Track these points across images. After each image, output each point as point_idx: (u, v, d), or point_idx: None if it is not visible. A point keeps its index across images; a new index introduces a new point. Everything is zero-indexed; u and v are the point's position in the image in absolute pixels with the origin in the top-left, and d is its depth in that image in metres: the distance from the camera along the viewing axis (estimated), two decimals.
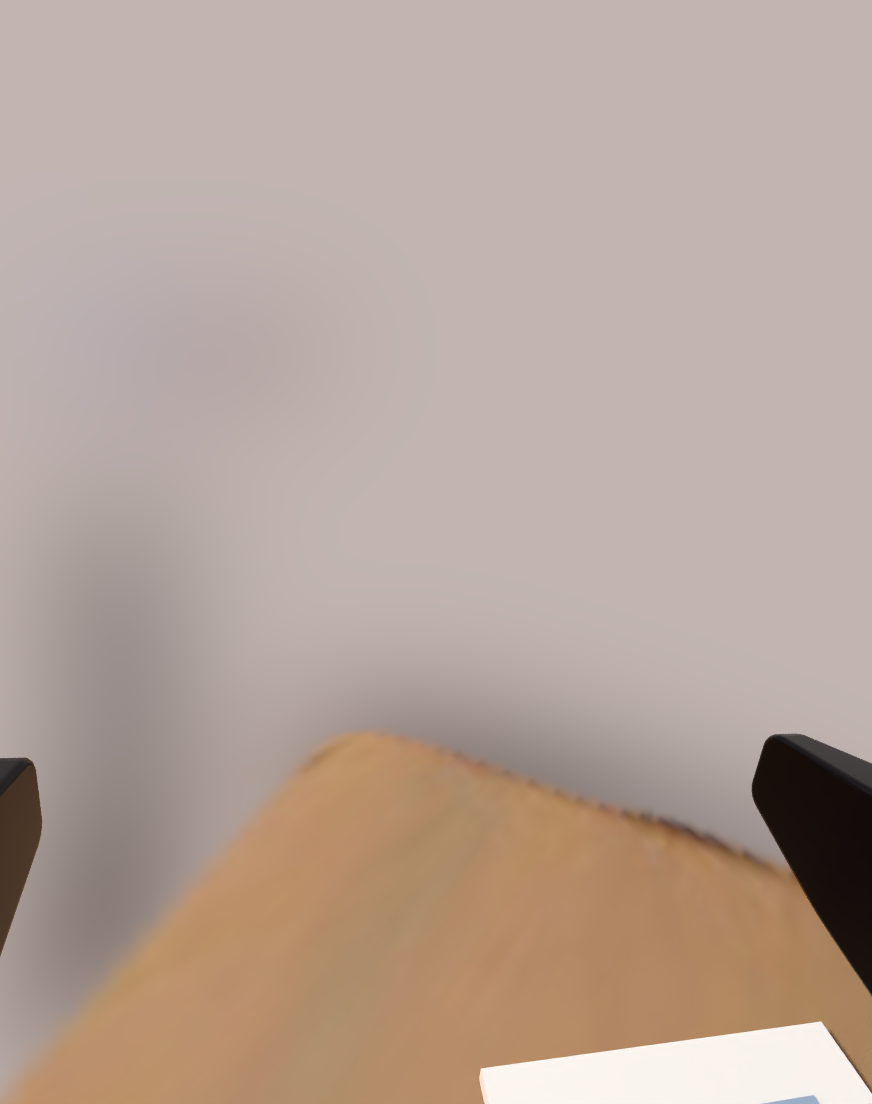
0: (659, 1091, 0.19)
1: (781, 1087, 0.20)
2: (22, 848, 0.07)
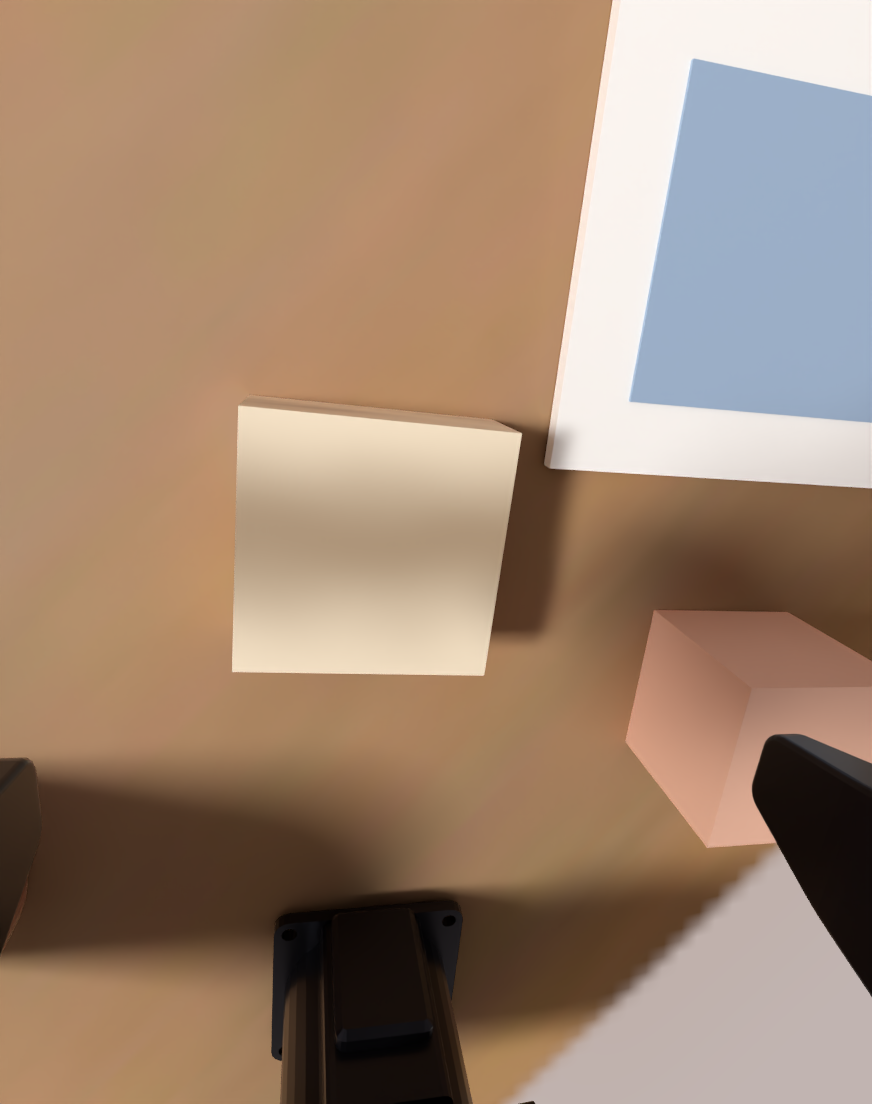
0: (816, 49, 0.16)
1: None
2: (22, 848, 0.07)
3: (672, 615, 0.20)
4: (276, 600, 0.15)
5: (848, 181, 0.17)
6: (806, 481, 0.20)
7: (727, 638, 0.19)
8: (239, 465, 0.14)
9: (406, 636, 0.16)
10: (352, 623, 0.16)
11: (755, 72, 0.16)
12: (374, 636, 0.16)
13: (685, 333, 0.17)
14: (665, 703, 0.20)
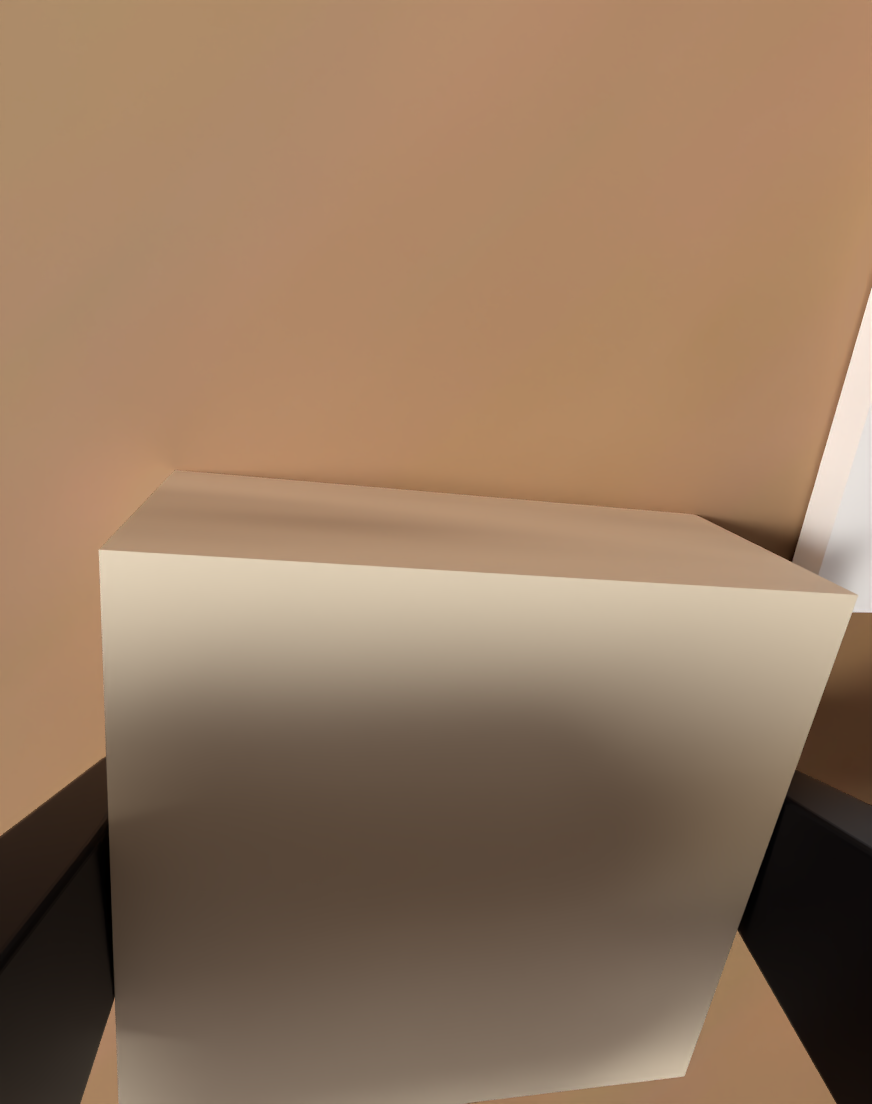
0: None
1: None
2: None
3: None
4: (226, 998, 0.06)
5: None
6: None
7: None
8: (112, 709, 0.05)
9: (530, 1031, 0.07)
10: (410, 1022, 0.07)
11: None
12: (458, 1038, 0.07)
13: None
14: None
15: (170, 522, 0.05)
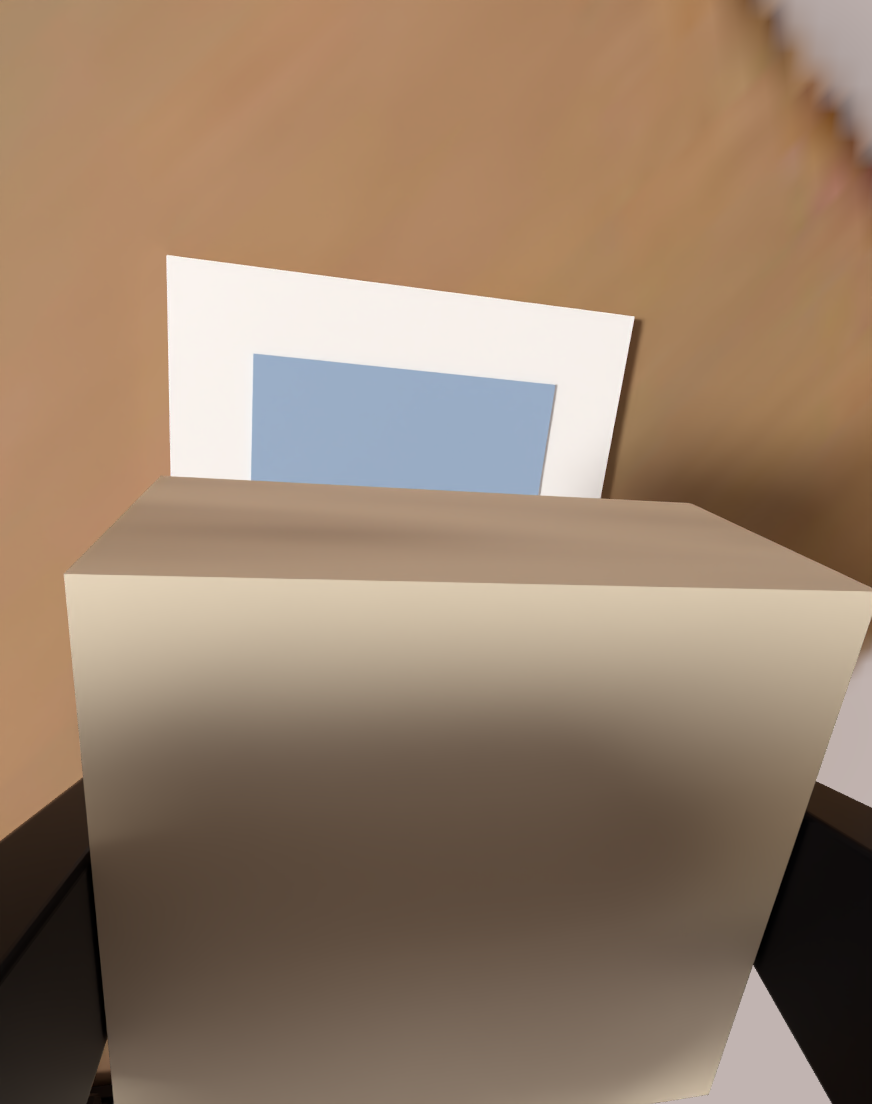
0: (385, 337, 0.16)
1: (528, 367, 0.17)
2: None
3: None
4: (224, 1036, 0.06)
5: (444, 445, 0.18)
6: None
7: None
8: (87, 741, 0.05)
9: (547, 1055, 0.07)
10: (420, 1051, 0.06)
11: (323, 360, 0.16)
12: (472, 1066, 0.07)
13: None
14: None
15: (145, 539, 0.05)
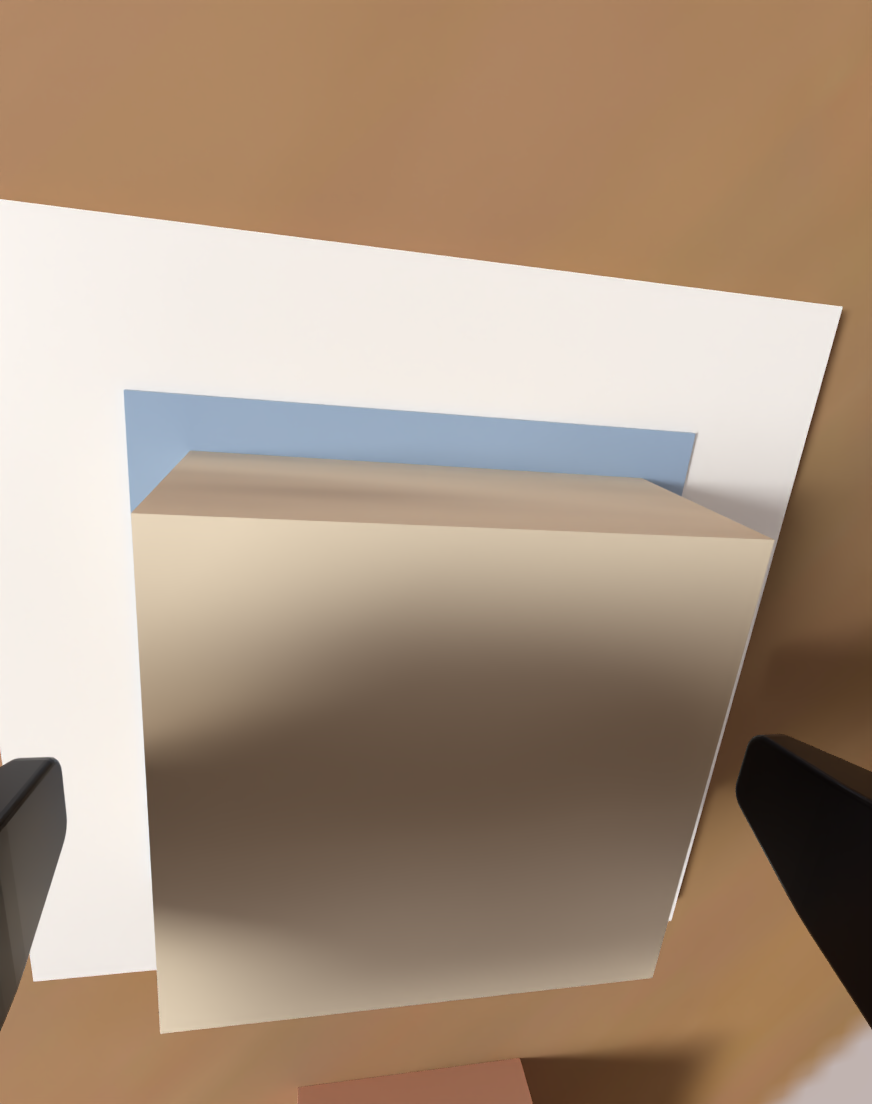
0: (384, 353, 0.09)
1: (647, 403, 0.09)
2: (49, 846, 0.07)
3: None
4: (245, 901, 0.07)
5: None
6: None
7: None
8: (144, 647, 0.06)
9: (512, 934, 0.08)
10: (405, 924, 0.08)
11: (264, 400, 0.08)
12: (449, 939, 0.08)
13: None
14: None
15: (186, 493, 0.06)
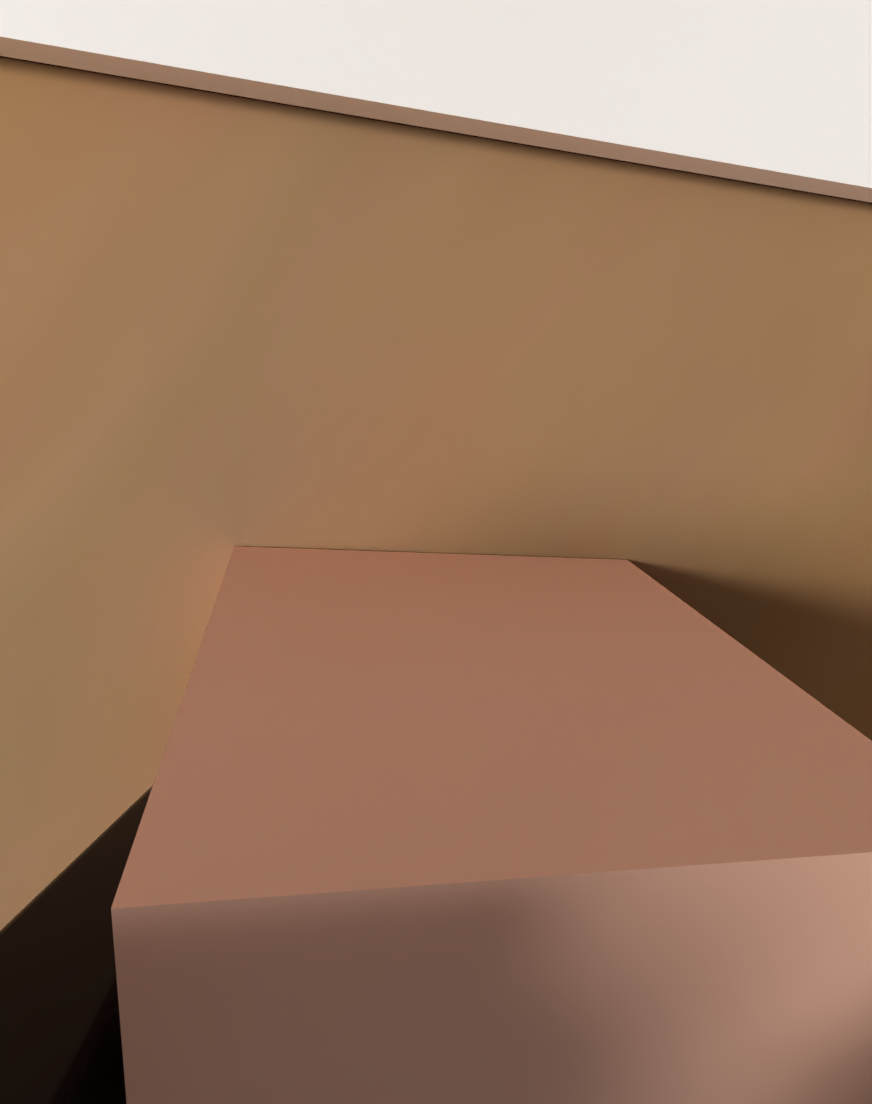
0: None
1: None
2: None
3: (266, 563, 0.07)
4: None
5: None
6: (632, 135, 0.06)
7: (355, 627, 0.06)
8: None
9: None
10: None
11: None
12: None
13: None
14: None
15: None
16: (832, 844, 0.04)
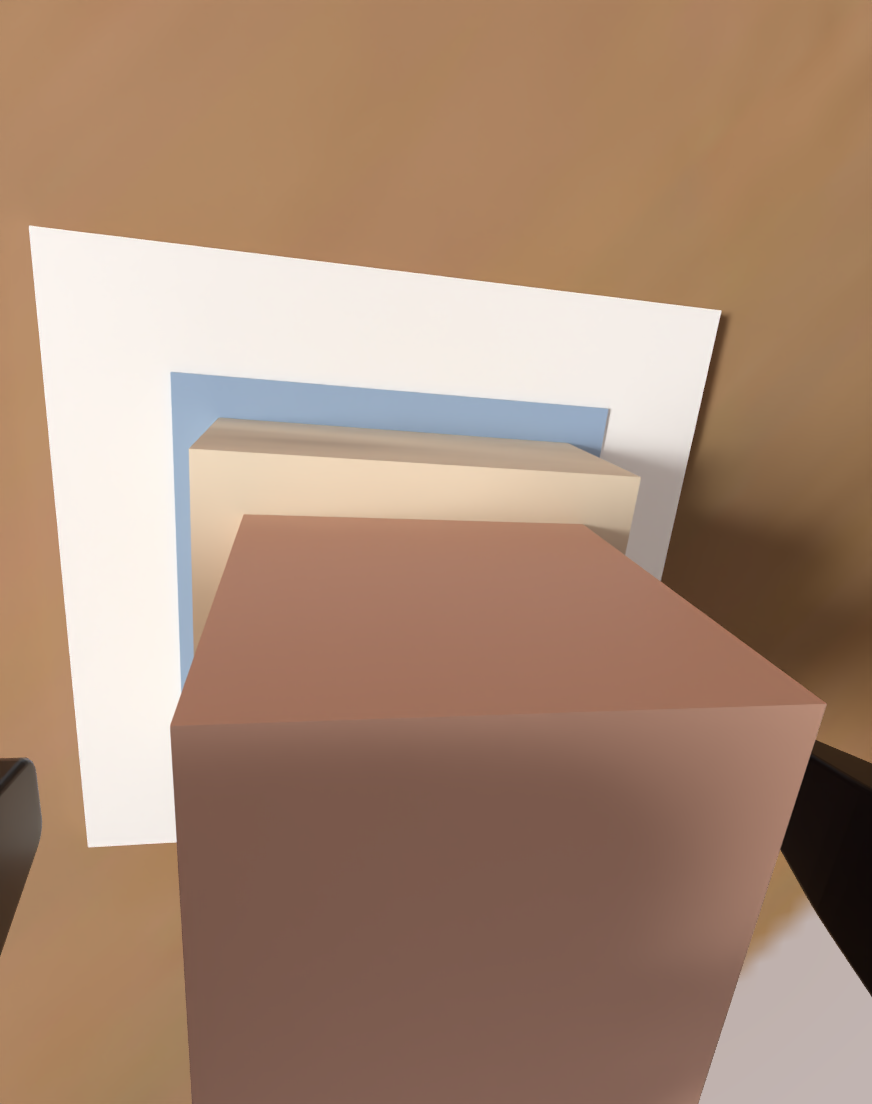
0: (365, 345, 0.11)
1: (569, 385, 0.12)
2: (22, 848, 0.06)
3: (271, 526, 0.08)
4: None
5: None
6: None
7: (343, 570, 0.07)
8: (195, 543, 0.09)
9: None
10: None
11: (275, 380, 0.11)
12: None
13: None
14: None
15: (222, 440, 0.09)
16: (691, 702, 0.05)
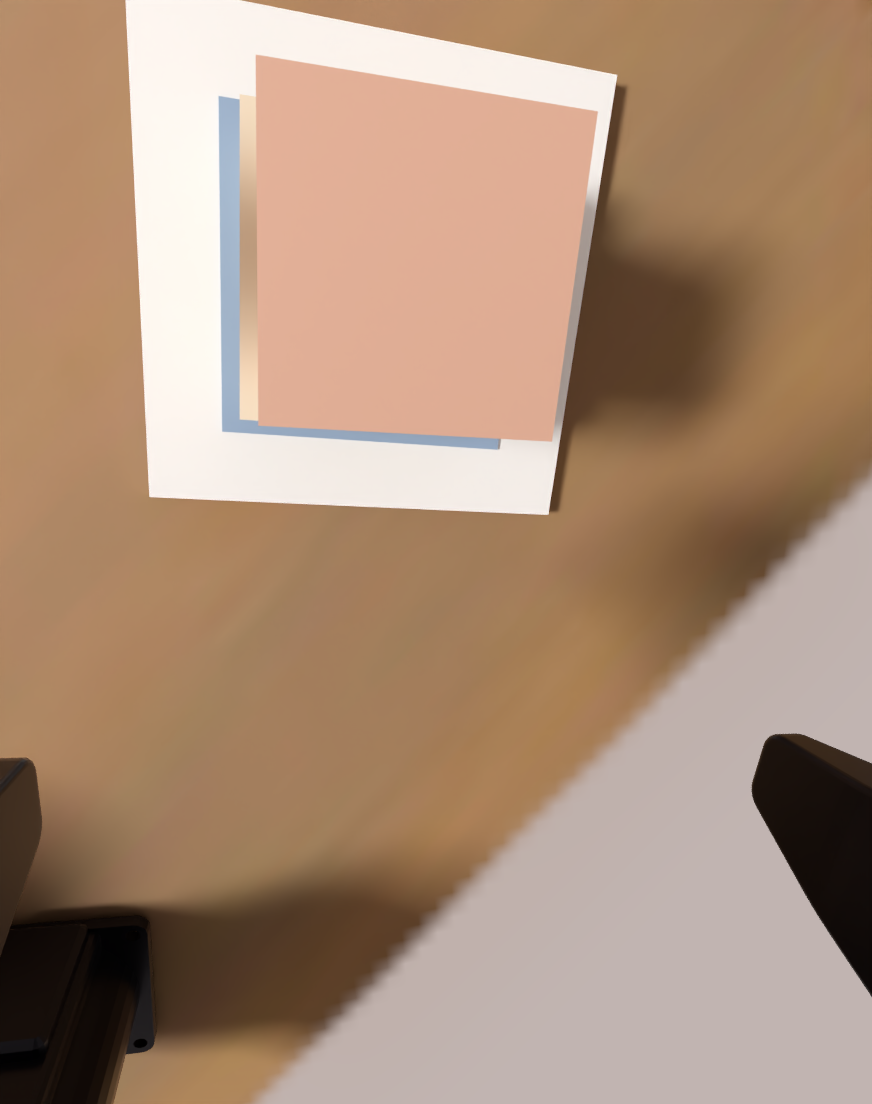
0: None
1: None
2: (22, 848, 0.06)
3: None
4: None
5: None
6: (436, 507, 0.20)
7: None
8: (242, 168, 0.13)
9: None
10: None
11: None
12: None
13: None
14: None
15: None
16: (522, 100, 0.10)
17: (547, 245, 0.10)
